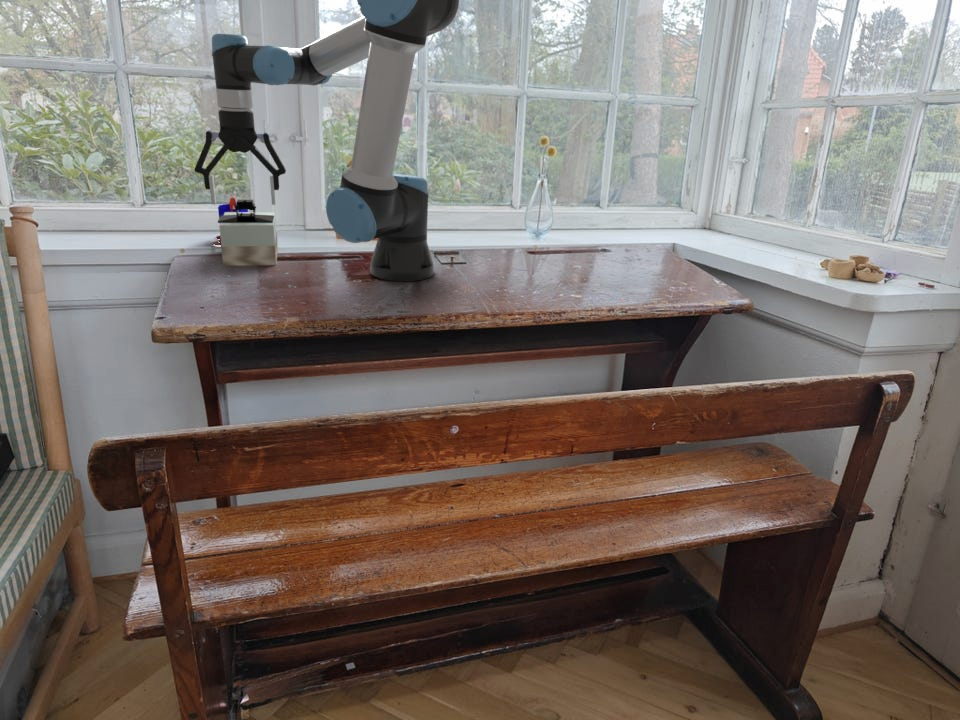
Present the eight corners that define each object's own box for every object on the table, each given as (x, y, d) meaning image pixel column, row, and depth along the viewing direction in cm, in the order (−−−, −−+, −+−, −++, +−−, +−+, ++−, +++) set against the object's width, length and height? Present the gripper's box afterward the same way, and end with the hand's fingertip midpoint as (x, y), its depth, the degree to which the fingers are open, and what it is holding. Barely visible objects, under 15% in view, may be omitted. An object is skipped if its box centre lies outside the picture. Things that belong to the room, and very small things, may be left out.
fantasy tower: (215, 237, 181) (210, 192, 176) (260, 237, 184) (257, 193, 179) (210, 248, 170) (204, 201, 166) (258, 247, 173) (254, 201, 168)
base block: (278, 250, 173) (276, 231, 171) (276, 266, 159) (274, 246, 157) (229, 251, 170) (227, 231, 168) (223, 267, 157) (221, 246, 155)
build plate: (217, 223, 155) (215, 203, 153) (221, 216, 161) (219, 197, 159) (272, 222, 158) (271, 203, 156) (274, 216, 164) (272, 197, 162)
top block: (276, 231, 171) (274, 212, 169) (274, 245, 158) (273, 225, 156) (226, 232, 168) (224, 212, 166) (221, 246, 155) (219, 225, 152)
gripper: (292, 110, 157) (297, 200, 165) (179, 106, 150) (190, 200, 159) (292, 112, 150) (297, 206, 158) (173, 108, 144) (186, 206, 152)
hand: (244, 203), depth 159 cm, fingers open, 13 cm apart
